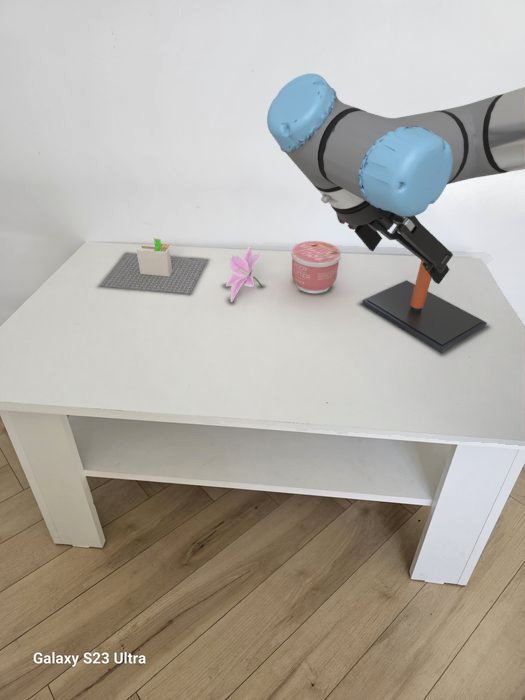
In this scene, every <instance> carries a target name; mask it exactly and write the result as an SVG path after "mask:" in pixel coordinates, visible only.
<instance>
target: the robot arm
mask: <svg viewBox="0 0 525 700" xmlns="http://www.w3.org/2000/svg"><path fill="white" fill-rule="evenodd" d="M266 116H267V117H266V125H267V128H268V132H269V133H270V135H271V136H272V138H273V139H274V140H275V142H276V143H277V144H278V146H279V148H280V150H281V151H282V153H284V154H286V155H287V156H288V157H289V159H290V160H291V161H292V162H293V163H294V164H295V166H296V167H297V168H298V169H299V171H301V172H302V174H303V175H304V176H305V177H306V178H307V179H308V181H309V182H310V183H311V184H312V186H314V188H315V189H316V190H317V191H318V192H319V193H320V194H321V195H322V197H321V198H320V201H321V202H322V203H323V204H328V205H330V207H331V208H332V209H333V211H334V212H335V214H336V217H337V218H336V219H337V221H338V222H339V223H340V224H342V225H345V224H347V227H348V229H350V230H354V233H355V234H356V236H357V237H358V238H359V240H361V242H363V244H364V245H365V246H366V247H367V249H368V250H369V251H371V252H374V251H375V249H376V248H377V247H378V245H379V244H380V242H381V241H382V240H383V237H382V236H384V237H385V238H386V239H388V240H389V241H396V242H398V243H399V245H401V246H403V248H405V249H406V250H408V251H409V252H410V253H412V255H414V256H416V257H417V258H418V259H419V260H422V261H423V266H424V267H425V268H424V269H425V270H426V271H427V272H428V273H429V275H430V276H431V280H432V281H433V282H434V284H437V285H440V283H441V282H442V281H443V279H444V278H445V277H446V276H447V274H448V273H449V271H450V268H449V266H448V263H449V262H450V260H451V259H452V257H453V256H454V254H453V253H452V251H450V250H449V249H448V248H447V247H446V246H445V245H444V244H443V243H442V242H441V241H440V240H439V239H437V237H436V236H434V235H433V233H431V232H430V231H429V230H428V229H427V228H426V227H425V226H424V225H423V224H422V223H421V222H420V220H419V219H418V218H417V217H416V216H418V215H420V214H422V213H424V212H426V210H427V209H428V207H429V206H430V205H432V204H435V203H436V202H437V200H438V199H439V198H441V196H442V194H443V192H444V191H445V189H446V187H447V185H450V184H455V183H458V182H462V181H466V180H470V179H475V178H483V177H488V176H495V175H502V174H506V173H511V172H516V171H524V170H525V86H523V87H521V88H517V89H514V90H510V91H507V92H504V93H501V94H497V95H494V96H490V97H487V98H484V99H479V100H477V101H473V102H470V103H468V104H463V105H460V106H455V107H451V108H446V109H441V110H433V111H428V112H421V113H416V114H410V115H404V116H399V117H387V116H386V117H385V116H382V115H379V114H376V113H372V112H369V111H366V110H364V109H361V108H359V107H356V106H354V105H353V106H352V105H349V104H347V103H344V102H342V100H340V99H339V98H338V96H337V91H336V89H334V88H333V87H332V86H331V85H330V84H329V83H328V81H327V80H326V79H325V78H324V77H323V76H322V75H320V74H318V73H304V74H302V75H298V76H296V77H294V78H293V79H291V80H290V81H288V82H287V83H285V84H284V86H283V87H281V89H279V91H278V92H277V94H276V95H275V97H274V98H273V99H272V100H271V103H270V104H269V107H268V110H267V115H266ZM394 225H396V226H395V227H394V229H392V231H391V232H390V231H389V230H391V228H392V227H393V226H394ZM380 234H381V235H382V236H381V235H380Z"/></svg>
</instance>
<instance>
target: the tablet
mask: <svg viewBox="0 0 525 700" xmlns="http://www.w3.org/2000/svg"><path fill="white" fill-rule="evenodd" d="M414 287H415V283H414V282H411V281H409V280H407V279H406V280H404V281H402V282H399V283H398V284H395V285H393V286H391V287H388V288H387V289H384V290H381V291H380V292H377V293H375V294H373V295H371V296H369V297H367V298H364V299H362V301H361V305H363V306H364V307H366V308H367V309H369V310H371V311H372V312H374V313H375V314H378V315H379V316H380V317H382V318H384V319H386V321H389V322H390V323H392V324H394V325H395V326H397V327H398V328H400V329H402V330H403V331H405V332H406V333H408V334H410V335H411V336H413V337H414V338H416V339H417V340H420V341H421V342H423V343H424V344H426V345H428V346H429V347H430V348H433V349H434V350H436V351H437V352H439V353H440V354H442V353H444V352H446V351H448V350H449V349H451V348H453V347H454V346H456V345H457V344H459V343H461V342H462V341H464V340H466V339H467V338H469V337H471V336H472V335H474V334H476V333H477V332H479V331H481V330H483V329H484V328H486V327H487V324H488V322H487V321H484V320H483V319H481V318H479V317H477V316H475V315H473V314H472V313H470V312H468V311H466V310H464V309H462V308H460V307H458V306H456V305H454V304H453V303H451V302H449V301H447V300H445V299H443V298H442V297H439V296H437V295H435V294H434V293H432V292H430V291H428V292H427V296H426V299H425V303H424V307H423V308H422V310H421V311H420V312H413V311H412V310H411V309H410V307H411V305H410V303H411V299H412V295H413V291H414Z"/></svg>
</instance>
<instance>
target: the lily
mask: <svg viewBox="0 0 525 700" xmlns="http://www.w3.org/2000/svg"><path fill="white" fill-rule="evenodd" d="M252 252H253V243H251V244H250V245H249V246H248V247H247V249H246V251H245V253H244V255H243V256H241V255H237V254H234V255H231V256H230V259H229V265H230V269H231V270H230V271H231V273H232V274H231V276H230V277H229V278H228V280H227V282H226V284H225V287H231V288H230V302H231V303H233V302H234V300H235V298H236V296H237V294H238V292H239V291H240V289H241V288H242V287H243V285H244V286H246V287H250V288H253V287H254V285H255V283H254V280H255V281H256V282H257V283H258V285H259V287H261V288H263V285H262V284H261V282H260V281H259V280H258V278H257V277H255V276H254V275H253V268H254V267H255V265H256V264H257V262H258V261H259V260H260V258H261V257H262V255H263V253H262V252H256V253H253V254H252Z"/></svg>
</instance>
